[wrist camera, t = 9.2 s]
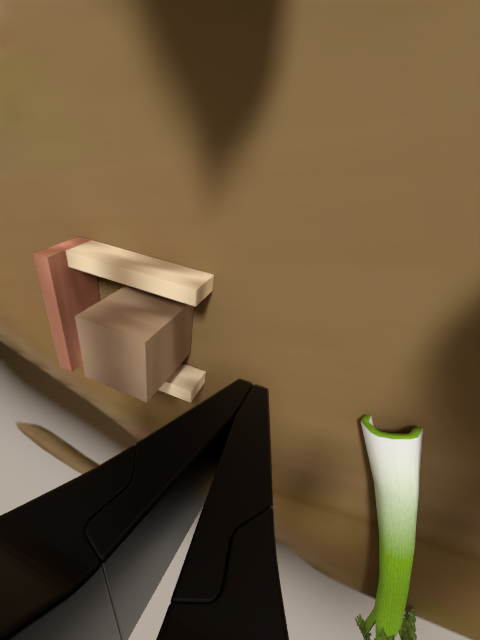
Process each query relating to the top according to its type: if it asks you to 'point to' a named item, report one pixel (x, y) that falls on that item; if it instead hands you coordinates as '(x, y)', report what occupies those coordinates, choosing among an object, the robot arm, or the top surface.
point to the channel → (82, 292)
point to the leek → (393, 526)
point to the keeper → (134, 340)
